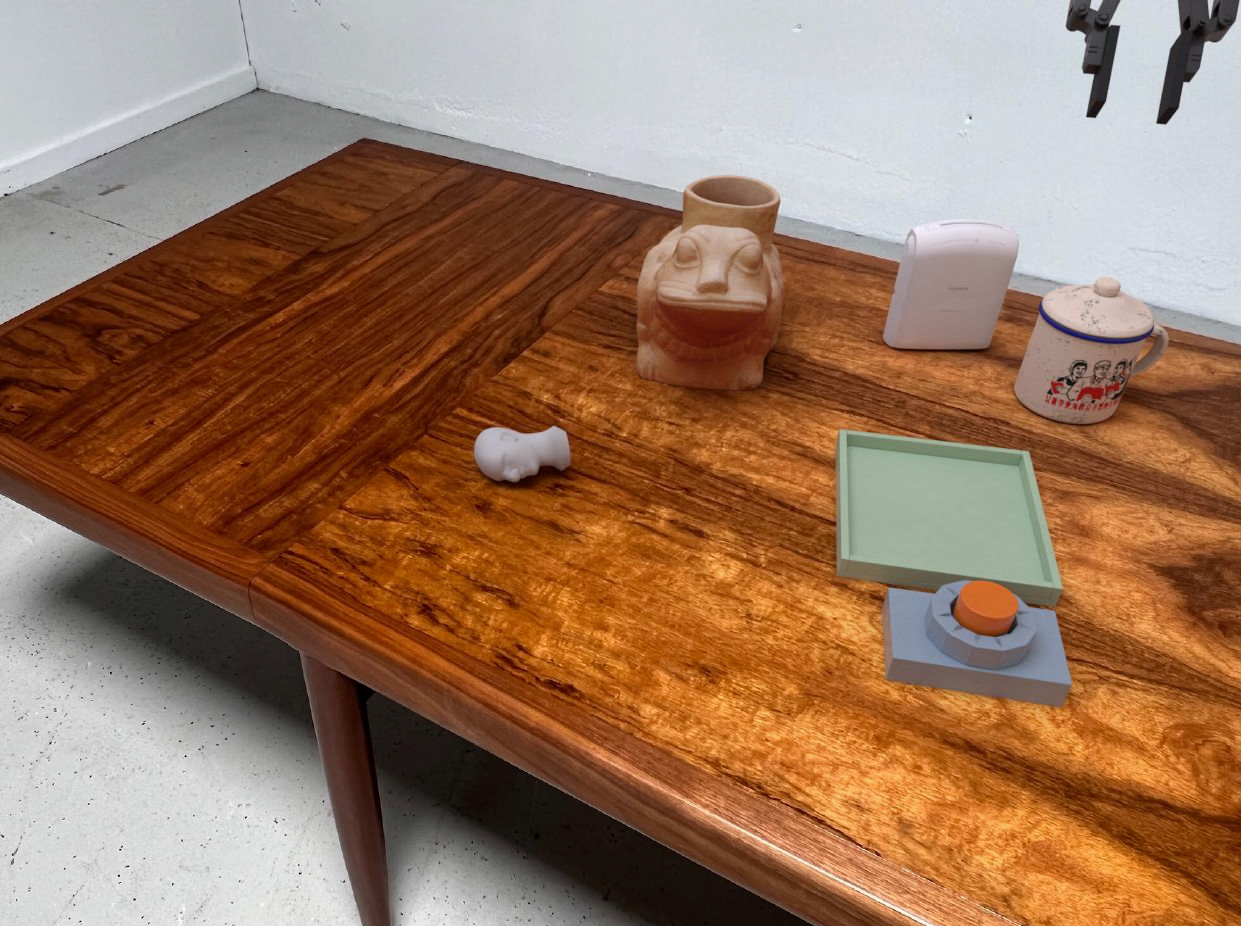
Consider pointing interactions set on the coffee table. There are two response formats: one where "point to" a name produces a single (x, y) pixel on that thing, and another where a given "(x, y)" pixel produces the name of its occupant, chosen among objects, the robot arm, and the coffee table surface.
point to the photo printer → (951, 285)
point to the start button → (986, 608)
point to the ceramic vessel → (713, 289)
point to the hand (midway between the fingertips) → (1131, 112)
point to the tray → (941, 516)
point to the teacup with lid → (1086, 352)
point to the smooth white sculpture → (520, 452)
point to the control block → (973, 649)
